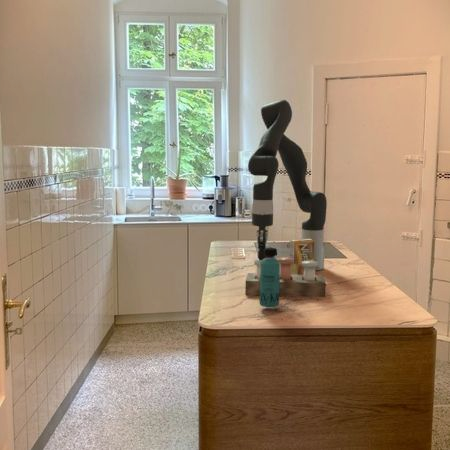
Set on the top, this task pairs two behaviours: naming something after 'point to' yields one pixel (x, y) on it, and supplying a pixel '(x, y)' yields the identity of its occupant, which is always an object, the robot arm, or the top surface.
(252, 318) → the top surface
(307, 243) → the candy box
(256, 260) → the grey plug
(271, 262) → the beverage bottle
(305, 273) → the grey plug
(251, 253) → the top surface
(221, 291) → the top surface
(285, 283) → the walnut socket board
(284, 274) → the brown mushroom peg
